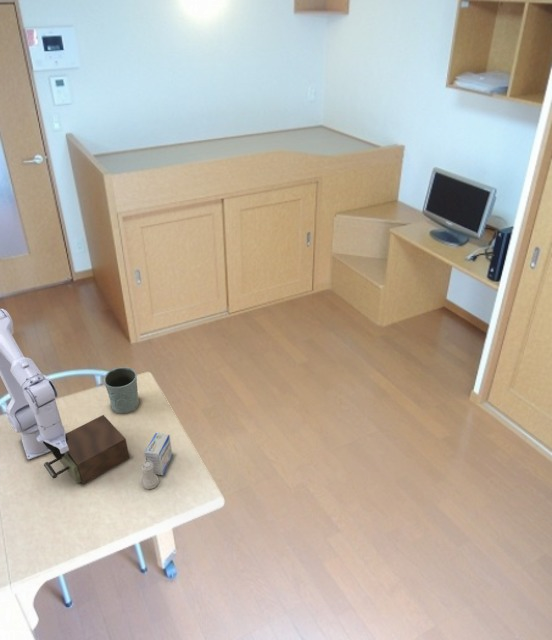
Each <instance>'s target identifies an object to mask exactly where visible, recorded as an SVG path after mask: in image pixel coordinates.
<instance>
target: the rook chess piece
mask: <svg viewBox="0 0 552 640" xmlns="http://www.w3.org/2000/svg"><path fill="white" fill-rule="evenodd" d="M153 466H154V464H153V463H152V462H151V461H150V460H148V461H146V459H145V460H144V462H142V464H141V466H140V467H141V469H142V472H143V474H144V475H143V477H142V479H141V483H142V487H143V488H144V489H147V490H152V489H153V490H154V488H156V487H157V486H158V485H159V482H160V481H159V476H158V475H157V474H154V472H153Z"/></svg>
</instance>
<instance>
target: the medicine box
mask: <svg viewBox="0 0 552 640" xmlns="http://www.w3.org/2000/svg"><path fill="white" fill-rule="evenodd" d="M170 436H171V435H170V434H167V433H160V432H155V433H154V435H153V437H152V438H151V441H150V442H149V444H148V446H147V448H146V450H145V451H144V458H145V460H146V461H148V460H150V461H151V462H152V463H153V464H154V466H153V472H154V474H155V475H156V476H164V474H165V472H166V470H167V468H168V465H169V463H170V461H171V460H172V458H173V450H172V444H171V443H172V442H171V437H170Z"/></svg>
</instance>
